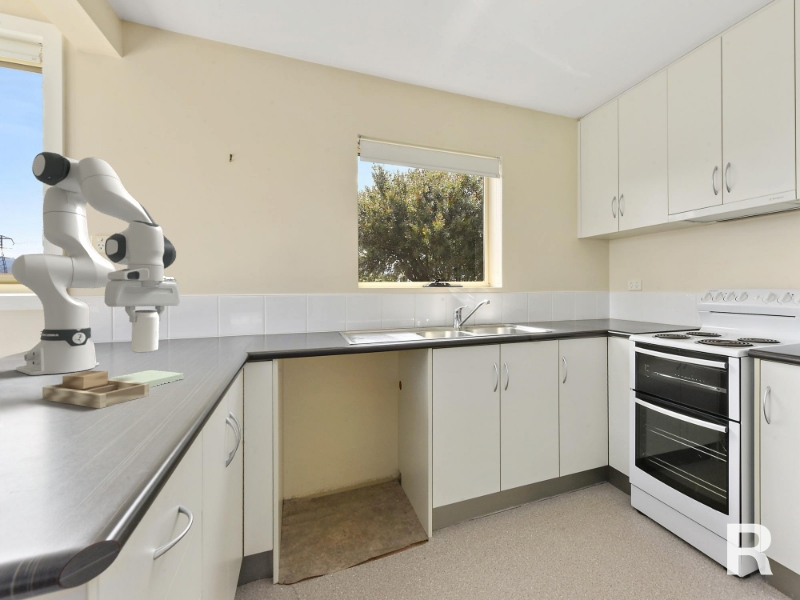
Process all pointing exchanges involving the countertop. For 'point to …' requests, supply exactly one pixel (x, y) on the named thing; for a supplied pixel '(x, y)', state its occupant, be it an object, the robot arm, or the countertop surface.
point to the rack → (97, 394)
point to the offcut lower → (91, 387)
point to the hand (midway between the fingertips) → (145, 321)
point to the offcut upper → (85, 379)
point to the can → (145, 331)
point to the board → (151, 377)
